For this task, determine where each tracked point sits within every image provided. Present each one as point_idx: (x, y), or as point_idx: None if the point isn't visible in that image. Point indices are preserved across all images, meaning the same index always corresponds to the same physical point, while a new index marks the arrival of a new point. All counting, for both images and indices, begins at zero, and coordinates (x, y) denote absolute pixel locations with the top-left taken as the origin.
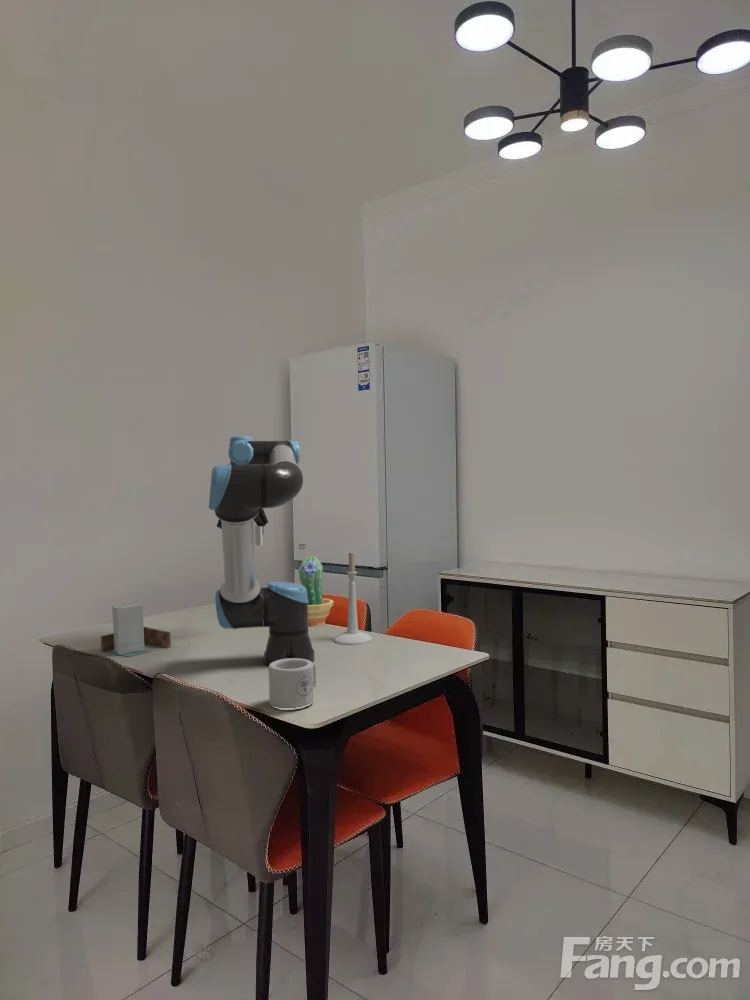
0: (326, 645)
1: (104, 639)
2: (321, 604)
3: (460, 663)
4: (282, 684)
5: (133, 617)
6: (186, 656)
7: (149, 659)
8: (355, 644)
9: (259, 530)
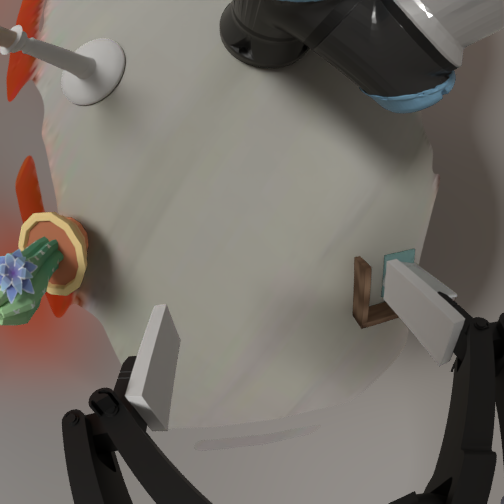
0: (147, 65)
1: None
2: (45, 218)
3: None
4: None
5: (432, 285)
6: (371, 186)
7: (407, 215)
8: (112, 40)
9: (152, 378)
